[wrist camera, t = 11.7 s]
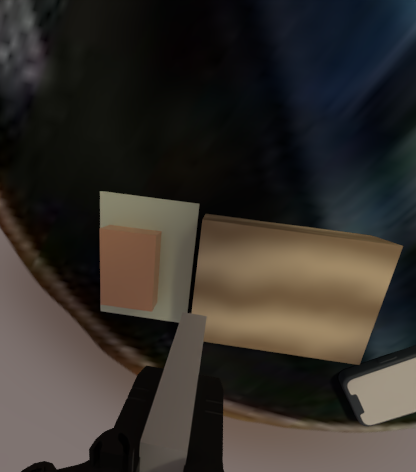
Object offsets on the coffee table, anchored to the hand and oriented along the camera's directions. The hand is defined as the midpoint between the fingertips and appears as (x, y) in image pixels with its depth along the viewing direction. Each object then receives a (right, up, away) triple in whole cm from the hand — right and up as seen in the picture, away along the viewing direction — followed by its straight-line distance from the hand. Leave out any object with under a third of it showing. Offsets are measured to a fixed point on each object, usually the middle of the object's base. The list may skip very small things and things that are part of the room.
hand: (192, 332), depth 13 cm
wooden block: (+9, +1, +11) cm, 14 cm away
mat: (-6, +3, +12) cm, 14 cm away
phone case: (+26, -12, +14) cm, 32 cm away
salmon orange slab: (-8, +2, +10) cm, 13 cm away
